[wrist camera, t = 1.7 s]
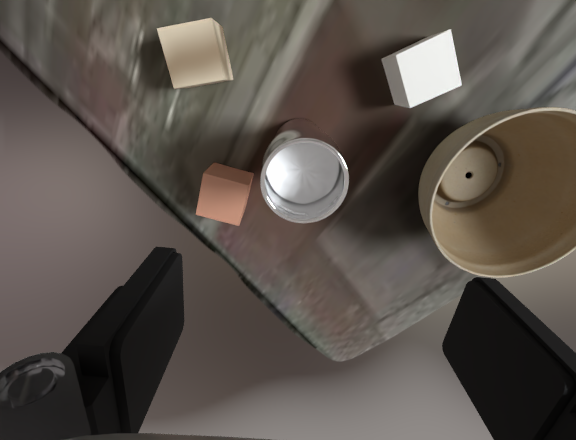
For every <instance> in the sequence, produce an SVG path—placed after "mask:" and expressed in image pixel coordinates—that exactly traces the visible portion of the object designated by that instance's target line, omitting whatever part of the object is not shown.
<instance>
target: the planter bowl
mask: <svg viewBox="0 0 576 440" xmlns="http://www.w3.org/2000/svg"><path fill="white" fill-rule="evenodd" d="M467 172H470V173H471V174H472V176H471V177H470V178H466V173H467ZM418 199H419V207H420V212H421V215H422V218H423V221H424V223H425V226H426V228H427V229H428V231H429V233H430V235H431V237H432V239H433V241H434V243H435V244H436V246H437V248H438V249H439V250H440V252H441V253H442V254H443V255H444V256H445V257H446V258H447V259H448V260H449V261H450V262H451V263H452V264H454V265H455V266H457V267H459V268H460V269H462V270H465V271H467V272H470V273H473V274H476V275H480V276H485V277H511V276H518V275H523V274H527V273H530V272H534V271H536V270H539V269H542V268H545V267H547V266H549V265H551V264H553V263H555V262H557V261H559V260H560V259H562V258H563V257H565V256H567V255H568V254H570V253H571V252H572V251H574V250H575V249H576V110H572V109H567V108H559V107H538V108H530V109H517V110H508V111H502V112H498V113H493V114H490V115H486V116H483V117H481V118H478V119H476V120H473V121H471V122H469V123H467V124H465V125H463V126H462V127H460V128H458V129H457V130H455V131H454V132H453V133H451V134H450V135H449V136H448V137H446V138H445V139H444V140H443V141H442V142H441V143H440V144H439V145H438V146H437V147H436V149H435V150H434V151H433V153H432V154H431V155H430V157H429V159H428V160H427V162H426V164H425V166H424V169H423V171H422V174H421V178H420V182H419V190H418Z"/></svg>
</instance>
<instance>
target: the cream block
mask: <svg viewBox="0 0 576 440" xmlns="http://www.w3.org/2000/svg"><path fill="white" fill-rule="evenodd" d="M381 60H382V63H383V67H384V70H385V74H386V77H387V81H388V84H389V87H390V91H391V94H392V98H393V101H394V105H398V106H402V107H407V108H411V107H414V106H416V105H418V104H421V103H423V102H425V101H427V100H430V99H432V98H434V97H436V96H439V95H441V94H443V93H446V92H448V91H450V90H452V89H455V88H457V87H459V86H462V83H461V78H460V73H459V68H458V63H457V58H456V53H455V48H454V43H453V38H452V33H451V29H450V30H447V31H444V32H441V33H438V34H435V35H432V36H429V37H426V38H424V39H422V40H420V41H418V42H416V43H414V44H412V45H410V46H407V47H405V48H403V49H401V50H399V51H397V52H395V53H393V54H391V55H389V56H386V57H384V58H382V59H381Z"/></svg>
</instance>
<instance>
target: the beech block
mask: <svg viewBox="0 0 576 440" xmlns="http://www.w3.org/2000/svg"><path fill="white" fill-rule="evenodd" d="M157 31H158V34H159V38H160V41H161V45H162V48H163V52H164V55H165V59H166V62H167V66H168V69H169V73H170V76H171V80H172V83H173V87H174V89H177V88H191V87H197V86H202V85H208V84H214V83H219V82H225V81H231V80H233V75H232V70H231V65H230V61H229V56H228V51H227V46H226V42H225V37H224V32H223V27H222V26H221V25H219V24H218V23H217V22H216V21H214V20H213V19H212V18H209V19H203V20H198V21H193V22H188V23H182V24H177V25H172V26H167V27H161V28H157Z"/></svg>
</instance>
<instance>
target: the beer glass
mask: <svg viewBox="0 0 576 440" xmlns="http://www.w3.org/2000/svg"><path fill="white" fill-rule="evenodd" d="M260 184H261V191H262V194H263V197H264V199H265V201H266V203H267V204H268V206H269V207H270V208H271V209H272V210H273V211H274V212H275V213H276V214H277V215H279V216H280V217H282V218H284V219H286V220H288V221H291V222H296V223H312V222H316V221H319V220H322V219H324V218H326V217H328V216H329V215H331V214H332V213H333V212H335V211H336V210H337V209H338V207H339V206H340V205H341V204H342V202H343V200H344V198H345V196H346V194H347V191H348V186H349V173H348V169H347V165H346V163H345V161H344V158H343V155H342V153H341V151H340V149H339V147H338V146H337V144H336V143H335V142H334V140H333V139H332V138H331V137H330V136H329V135H328V134H326V133H325V132H323V131H322V130H320V129H319V127H318V126H317V125H316V124H314V123H313V122H311V121H309V120H306V119H293V120H290V121H288V122H286V123H284V124H283V125H282V126H281V127H280V128H279V129H278V131H277V132H276V135H275V137H274V138H273V140H272V141H271V142H270V144H269V145H268V147H267V149H266V151H265V154H264V157H263V161H262V166H261V178H260Z"/></svg>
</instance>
